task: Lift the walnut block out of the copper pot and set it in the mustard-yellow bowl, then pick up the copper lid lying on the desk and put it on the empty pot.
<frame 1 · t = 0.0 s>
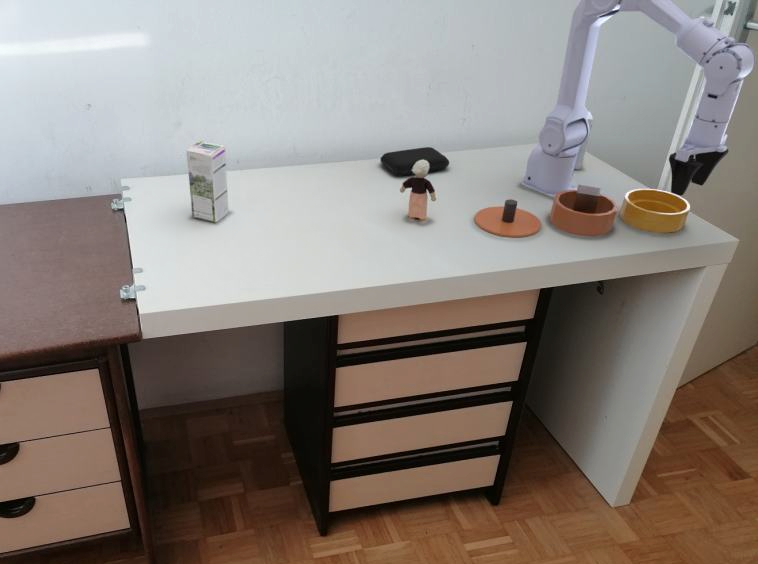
hand: (687, 188, 138), 10 cm above the table, tool pointing down, fingers open, 7 cm apart
syrup box: (210, 216, 149), on the table
lid: (507, 222, 147), point 1 cm above the table
cosmetic box: (570, 165, 174), on the table
bowl: (650, 221, 150), on the table
carrying case: (412, 167, 172), on the table
walnut block: (580, 222, 148), resting on pot
pot: (579, 224, 148), on the table
grandmother figurine: (415, 220, 149), on the table
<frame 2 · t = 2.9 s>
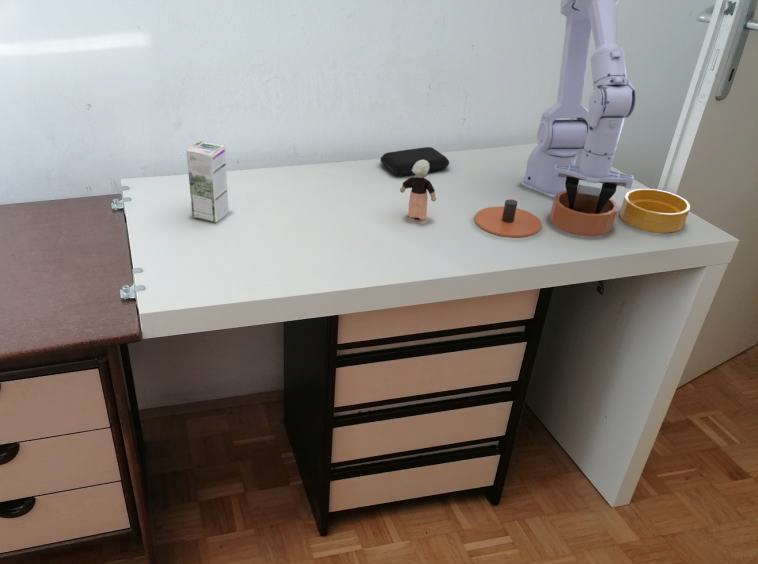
hand: (582, 215, 147), 2 cm above the table, tool pointing down, fingers closed on walnut block, 4 cm apart
walnut block: (580, 222, 148), point 1 cm above the table, touching gripper, pot
everything else where it was.
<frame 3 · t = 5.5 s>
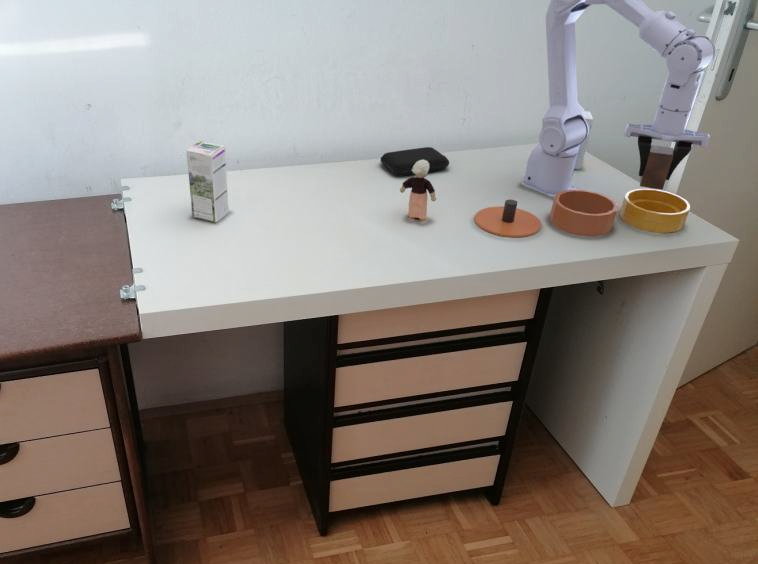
hand: (653, 176, 143), 10 cm above the table, tool pointing down, fingers closed on walnut block, 4 cm apart
walnut block: (651, 184, 144), point 8 cm above the table, touching gripper
everything else where it was.
when the fingers open (2 cm above the table, at t = 8.0 s): walnut block stays where it is, resting on bowl.
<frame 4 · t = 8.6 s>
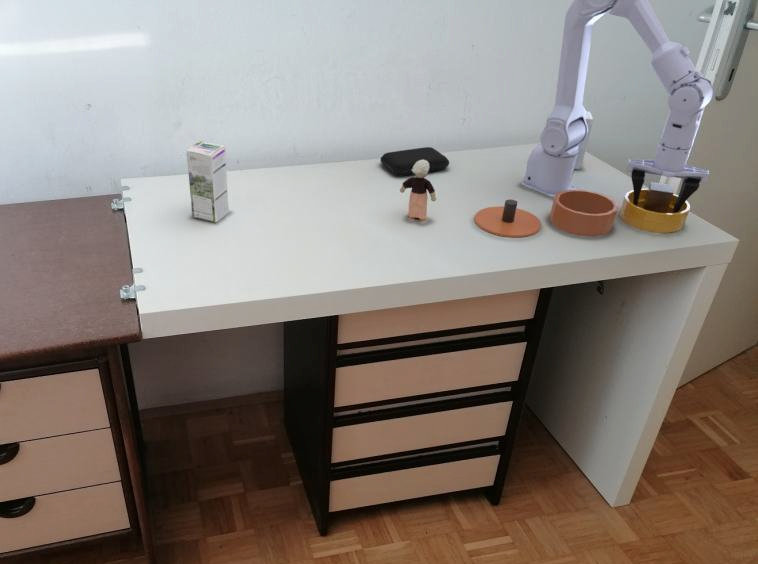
hand: (654, 209, 148), 3 cm above the table, tool pointing down, fingers open, 7 cm apart
walnut block: (651, 219, 149), point 1 cm above the table, touching bowl
everything else where it was.
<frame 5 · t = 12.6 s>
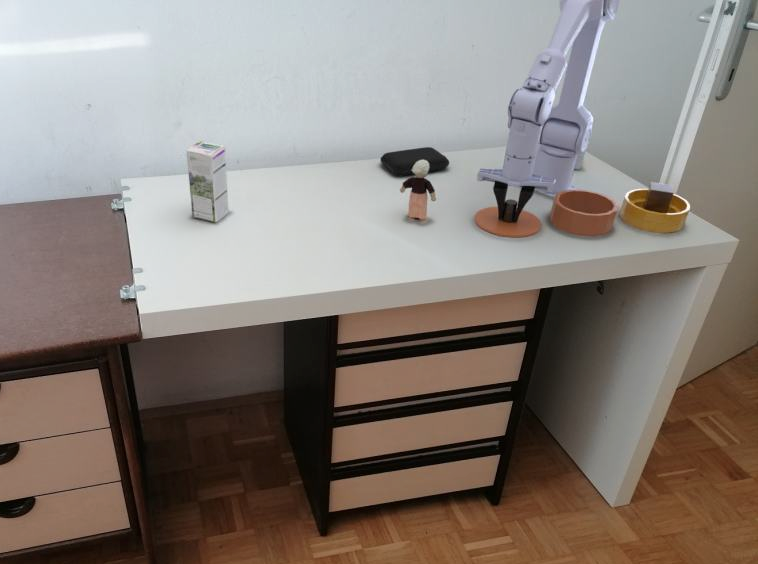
hand: (508, 218, 147), 1 cm above the table, tool pointing down, fingers closed on lid, 2 cm apart
lid: (507, 222, 147), point 1 cm above the table, touching gripper
everything else where it was.
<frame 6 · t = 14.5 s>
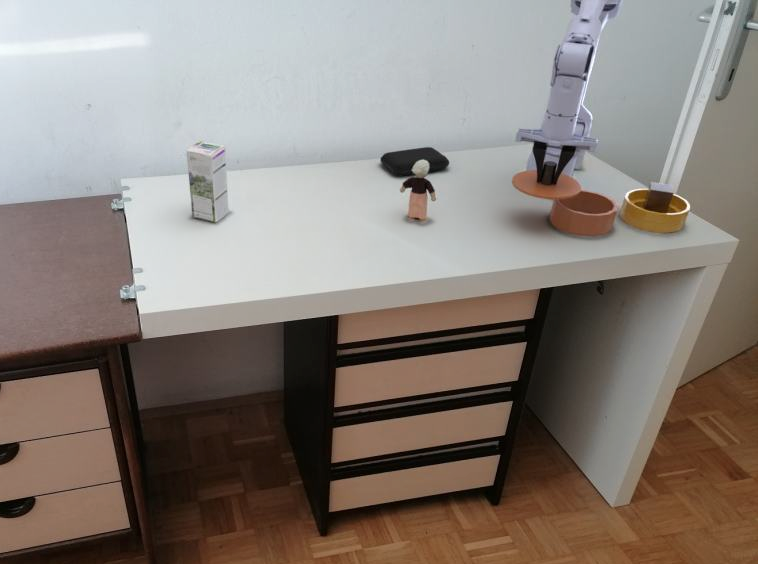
hand: (546, 181, 142), 9 cm above the table, tool pointing down, fingers closed on lid, 2 cm apart
lid: (545, 185, 143), point 9 cm above the table, touching gripper
everything else where it was.
when the fingers open (6 cm above the table, at t = 16.6 s): lid stays where it is, resting on pot.
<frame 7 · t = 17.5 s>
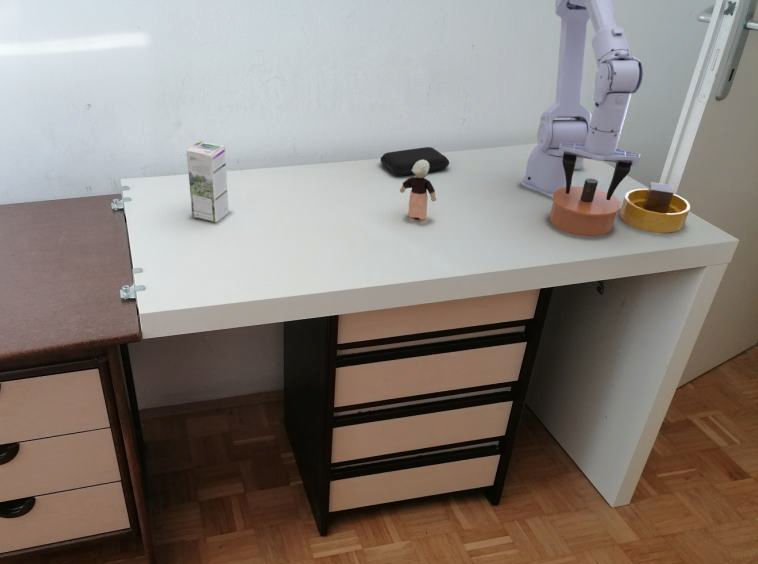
hand: (587, 194, 144), 7 cm above the table, tool pointing down, fingers open, 7 cm apart
lid: (586, 202, 145), point 5 cm above the table, touching pot
everything else where it was.
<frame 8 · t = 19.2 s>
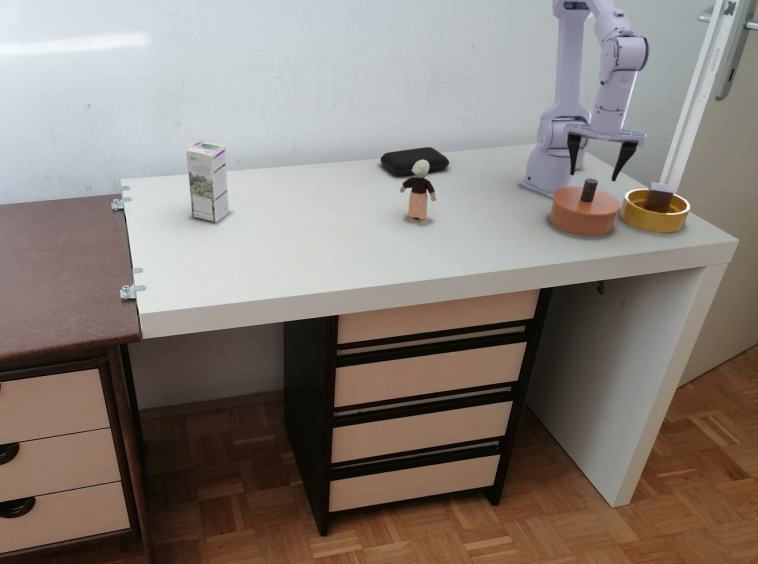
hand: (592, 176, 142), 10 cm above the table, tool pointing down, fingers open, 7 cm apart
nothing on the table moved.
at the end: walnut block 0.1 cm off-centre in the bowl, point 0.5 cm above the bowl's base; lid 0.1 cm off-centre on the pot, point 5.0 cm above the pot's base; lid tilted 0° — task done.
